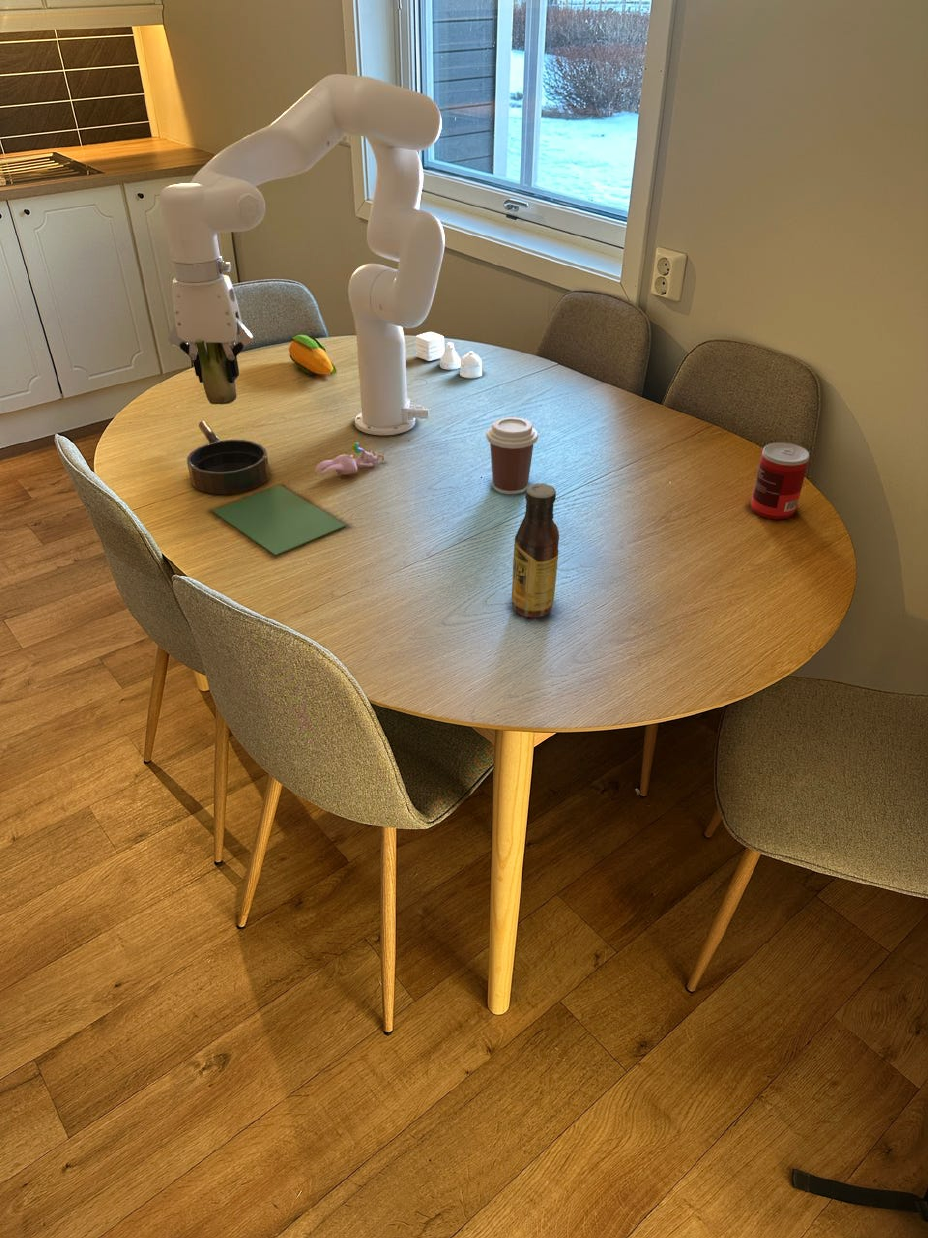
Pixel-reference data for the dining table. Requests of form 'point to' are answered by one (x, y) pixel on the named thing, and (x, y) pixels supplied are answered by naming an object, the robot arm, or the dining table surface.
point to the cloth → (278, 520)
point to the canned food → (779, 480)
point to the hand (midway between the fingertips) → (218, 379)
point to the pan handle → (208, 432)
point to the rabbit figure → (350, 461)
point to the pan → (228, 466)
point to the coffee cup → (511, 453)
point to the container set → (447, 355)
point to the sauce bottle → (536, 554)
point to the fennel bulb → (215, 373)
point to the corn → (310, 355)
